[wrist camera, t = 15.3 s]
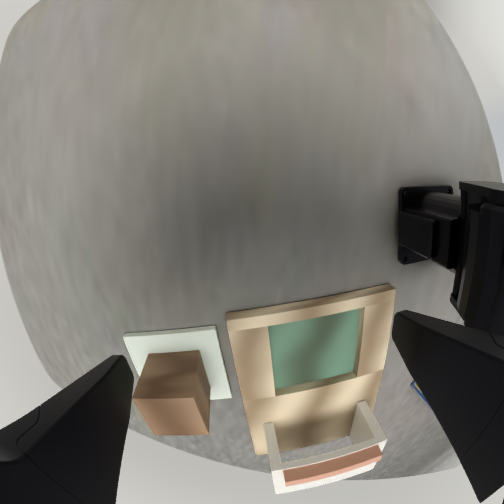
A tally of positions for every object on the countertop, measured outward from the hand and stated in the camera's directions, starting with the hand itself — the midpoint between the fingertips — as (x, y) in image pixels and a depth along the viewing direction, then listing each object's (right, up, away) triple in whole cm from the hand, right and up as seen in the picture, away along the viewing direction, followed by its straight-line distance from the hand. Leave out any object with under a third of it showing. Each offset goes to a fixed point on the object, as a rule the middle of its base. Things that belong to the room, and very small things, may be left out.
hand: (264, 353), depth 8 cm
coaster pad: (-7, -7, +14) cm, 17 cm away
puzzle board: (+6, -10, +16) cm, 20 cm away
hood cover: (+7, -17, +17) cm, 25 cm away
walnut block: (-7, -7, +13) cm, 17 cm away
